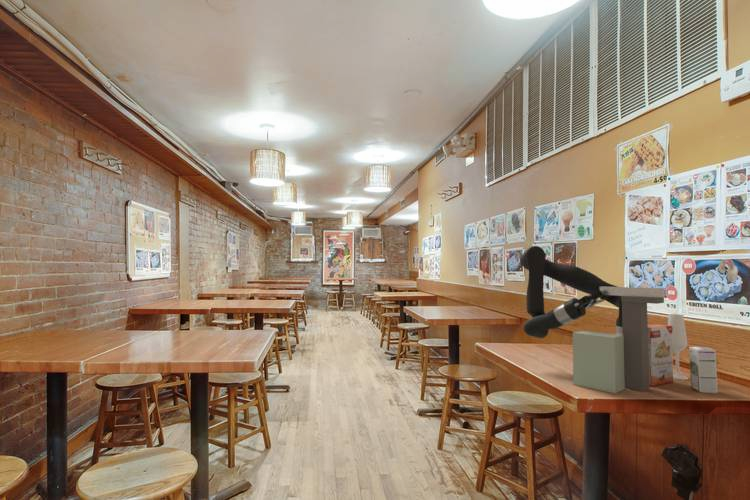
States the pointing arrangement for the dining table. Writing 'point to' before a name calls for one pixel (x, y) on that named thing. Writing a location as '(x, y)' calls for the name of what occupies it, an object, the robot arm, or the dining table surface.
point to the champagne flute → (678, 340)
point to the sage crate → (598, 361)
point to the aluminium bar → (633, 291)
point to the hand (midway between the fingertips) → (606, 292)
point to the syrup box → (703, 369)
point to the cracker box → (660, 354)
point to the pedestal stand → (636, 340)
